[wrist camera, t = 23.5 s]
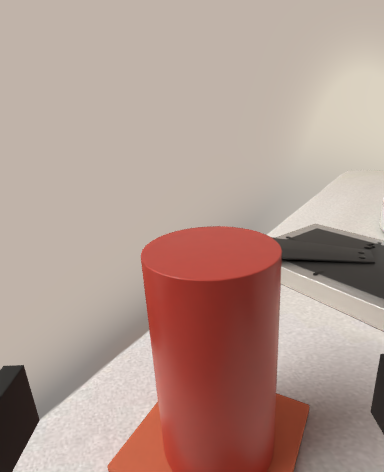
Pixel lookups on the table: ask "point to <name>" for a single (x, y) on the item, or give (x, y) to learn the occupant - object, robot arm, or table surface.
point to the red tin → (215, 345)
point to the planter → (382, 217)
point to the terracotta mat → (152, 449)
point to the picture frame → (336, 270)
